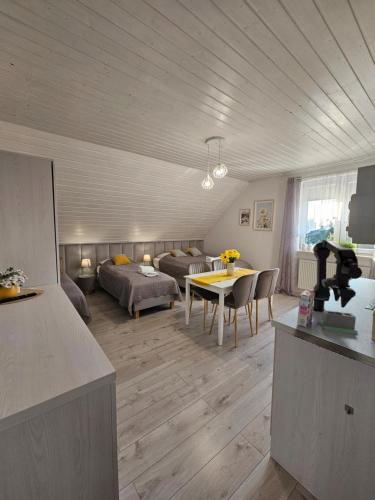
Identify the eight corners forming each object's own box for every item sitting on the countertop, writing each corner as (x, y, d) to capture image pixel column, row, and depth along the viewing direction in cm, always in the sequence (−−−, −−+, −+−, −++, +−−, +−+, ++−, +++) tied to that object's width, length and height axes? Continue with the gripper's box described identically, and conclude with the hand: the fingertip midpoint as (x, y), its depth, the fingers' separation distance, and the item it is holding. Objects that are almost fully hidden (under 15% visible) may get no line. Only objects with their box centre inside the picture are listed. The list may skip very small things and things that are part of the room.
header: (319, 322, 117) (320, 313, 116) (350, 326, 112) (351, 317, 112) (324, 329, 109) (324, 319, 108) (357, 334, 105) (358, 323, 104)
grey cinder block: (322, 321, 115) (323, 310, 114) (350, 324, 111) (351, 313, 110) (325, 325, 110) (326, 313, 109) (354, 329, 106) (355, 317, 106)
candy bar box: (307, 328, 110) (310, 296, 108) (297, 325, 113) (299, 294, 111) (312, 321, 119) (314, 291, 117) (302, 318, 122) (304, 289, 120)
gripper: (319, 268, 121) (316, 296, 123) (329, 276, 103) (326, 308, 105) (342, 270, 118) (340, 298, 120) (357, 278, 100) (354, 312, 102)
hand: (339, 304), depth 112 cm, fingers open, 9 cm apart
